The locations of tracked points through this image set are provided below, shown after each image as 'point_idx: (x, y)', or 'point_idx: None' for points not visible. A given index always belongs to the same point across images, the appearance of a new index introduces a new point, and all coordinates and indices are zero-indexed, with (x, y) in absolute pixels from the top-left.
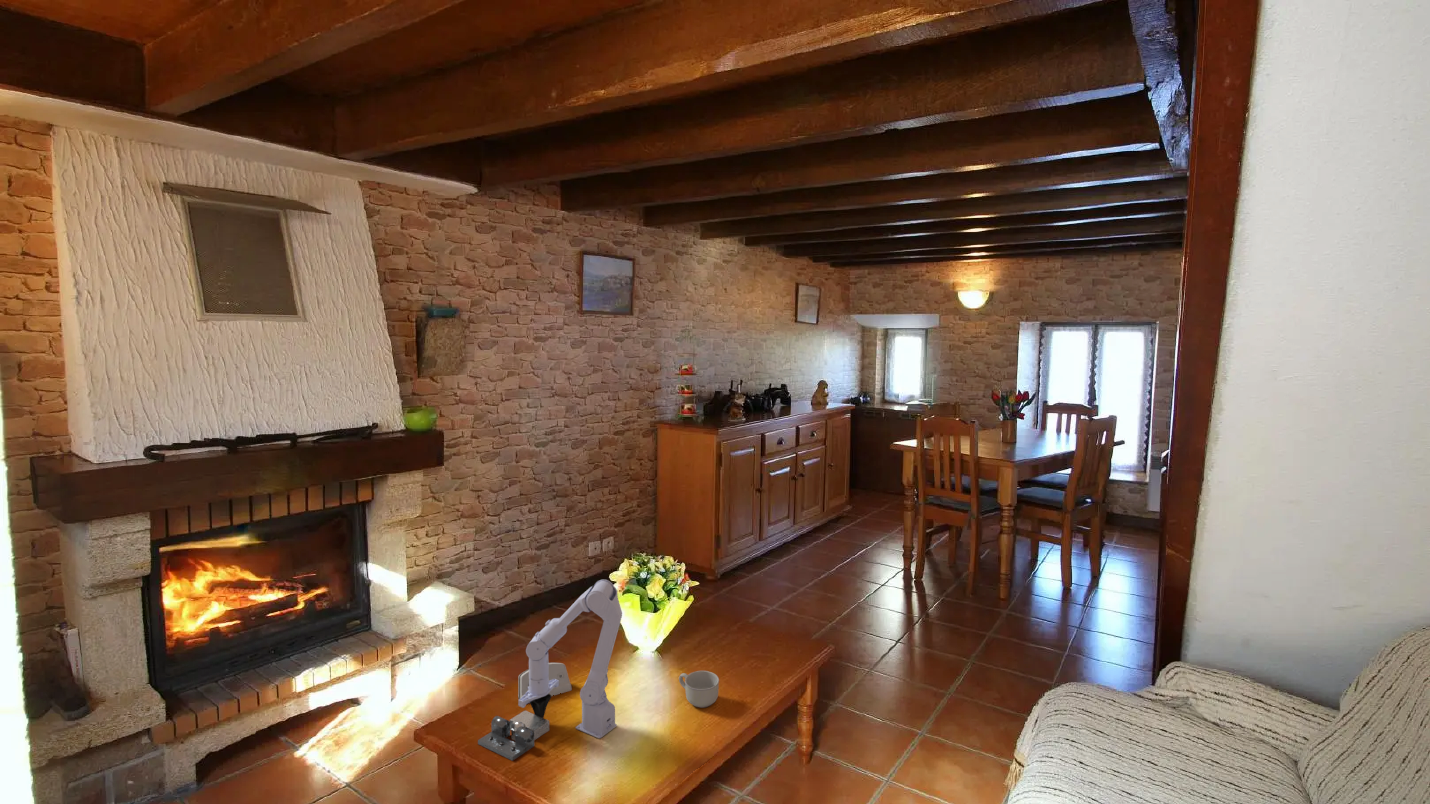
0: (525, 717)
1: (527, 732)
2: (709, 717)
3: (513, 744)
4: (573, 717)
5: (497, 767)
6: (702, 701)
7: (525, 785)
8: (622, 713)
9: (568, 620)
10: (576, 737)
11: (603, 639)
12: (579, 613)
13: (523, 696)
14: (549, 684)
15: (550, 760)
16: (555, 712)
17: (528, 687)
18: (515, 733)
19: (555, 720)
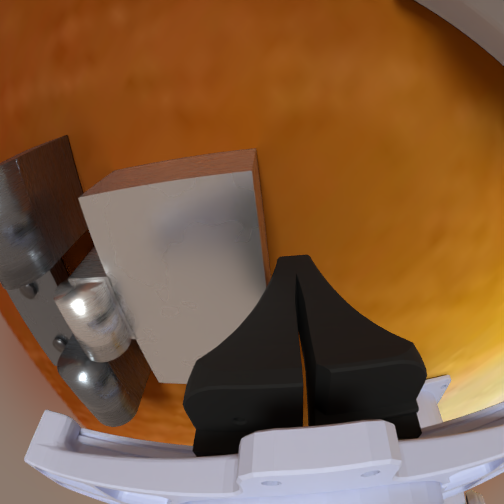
0: (185, 264)
1: (98, 418)
2: None
3: (68, 327)
4: (423, 336)
5: (19, 337)
6: None
7: (76, 415)
8: (479, 398)
9: None
10: (307, 415)
11: None
12: None
13: (78, 478)
14: (470, 476)
15: (164, 421)
16: (432, 243)
17: (250, 484)
18: (59, 360)
19: (366, 301)
